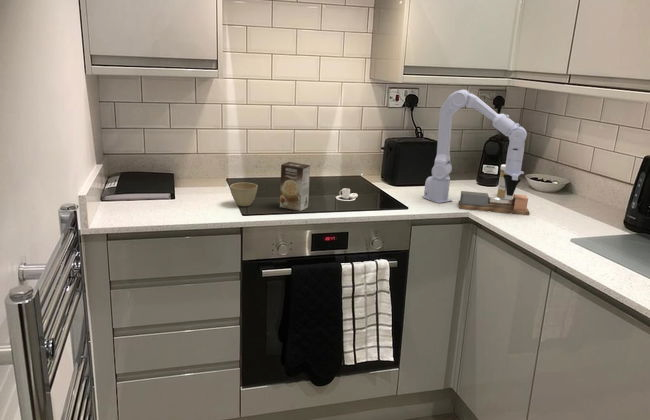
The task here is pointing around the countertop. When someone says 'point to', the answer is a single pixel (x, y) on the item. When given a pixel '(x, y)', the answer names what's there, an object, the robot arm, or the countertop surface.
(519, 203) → the socket
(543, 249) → the countertop surface
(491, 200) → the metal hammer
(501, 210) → the walnut board
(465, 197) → the sleeve
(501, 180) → the sprinkles bottle
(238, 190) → the bowl
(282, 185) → the coffee box
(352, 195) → the teacup and saucer
